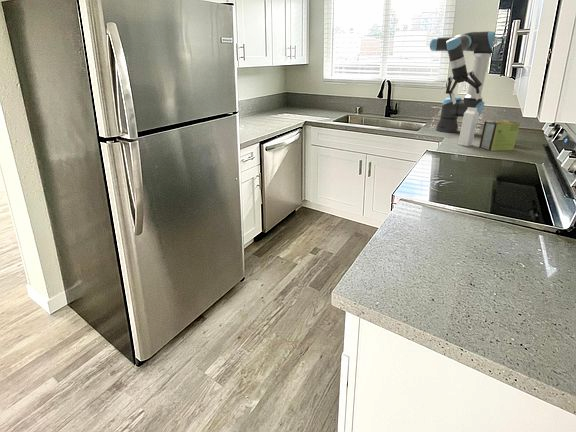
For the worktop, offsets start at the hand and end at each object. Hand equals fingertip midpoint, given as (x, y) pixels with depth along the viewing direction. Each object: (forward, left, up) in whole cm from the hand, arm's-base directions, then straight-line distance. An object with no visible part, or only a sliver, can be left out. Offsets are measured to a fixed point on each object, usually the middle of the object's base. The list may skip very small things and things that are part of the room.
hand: (465, 101), depth 222 cm
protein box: (+13, +18, -25) cm, 33 cm away
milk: (+5, +3, -25) cm, 26 cm away
